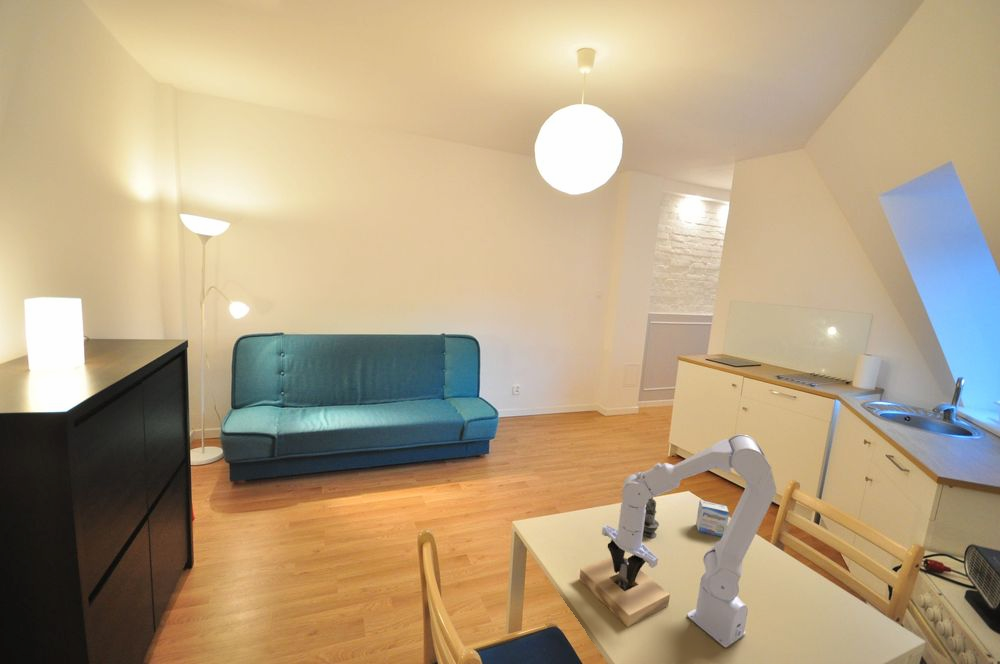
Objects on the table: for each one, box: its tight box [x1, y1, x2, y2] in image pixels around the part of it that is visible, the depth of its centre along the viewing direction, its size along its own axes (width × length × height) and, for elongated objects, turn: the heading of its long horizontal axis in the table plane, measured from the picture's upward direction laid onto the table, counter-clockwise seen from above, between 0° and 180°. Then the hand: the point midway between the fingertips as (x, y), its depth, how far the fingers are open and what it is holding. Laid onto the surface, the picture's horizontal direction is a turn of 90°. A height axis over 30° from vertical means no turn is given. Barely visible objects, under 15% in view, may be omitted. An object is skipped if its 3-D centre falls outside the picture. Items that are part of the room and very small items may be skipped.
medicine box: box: [695, 500, 730, 538], centre depth 131 cm, size 8×4×9 cm, turn 73°
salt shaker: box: [643, 497, 660, 539], centre depth 127 cm, size 6×6×12 cm
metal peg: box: [617, 557, 631, 591], centre depth 102 cm, size 3×3×8 cm
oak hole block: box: [578, 556, 671, 628], centre depth 102 cm, size 16×14×3 cm
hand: (624, 575), depth 102 cm, fingers open, 3 cm apart
